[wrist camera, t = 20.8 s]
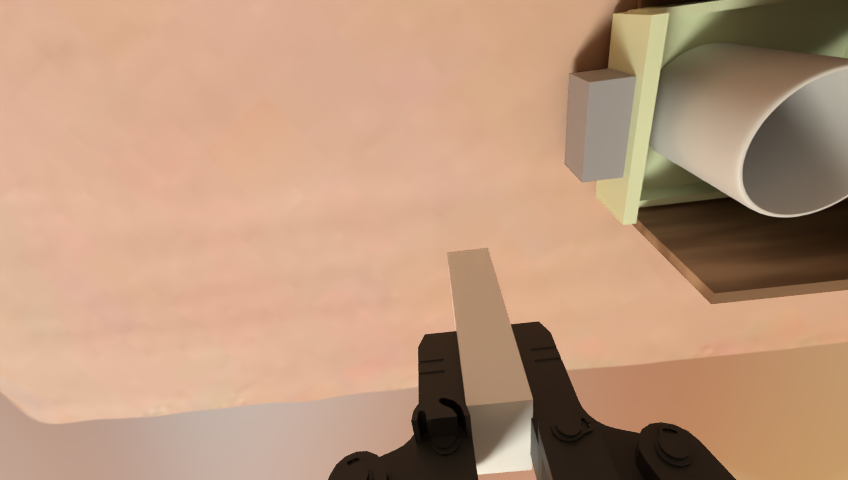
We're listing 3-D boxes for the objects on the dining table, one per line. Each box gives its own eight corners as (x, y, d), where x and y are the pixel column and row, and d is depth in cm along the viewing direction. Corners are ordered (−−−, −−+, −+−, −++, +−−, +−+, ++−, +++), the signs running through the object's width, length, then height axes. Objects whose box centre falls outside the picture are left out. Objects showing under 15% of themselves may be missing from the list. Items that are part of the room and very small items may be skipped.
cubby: (639, -14, 28) (832, -30, 15) (895, -50, 27) (1330, -100, 14) (613, 204, 36) (722, 315, 24) (808, 182, 36) (1032, 282, 23)
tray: (570, 17, 28) (600, 20, 24) (869, -24, 28) (962, -30, 23) (560, 201, 36) (582, 230, 31) (798, 173, 35) (858, 199, 30)
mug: (641, 171, 33) (731, 237, 24) (635, 65, 29) (740, 94, 20) (798, 124, 32) (963, 175, 22) (815, 5, 28) (1024, 5, 18)
